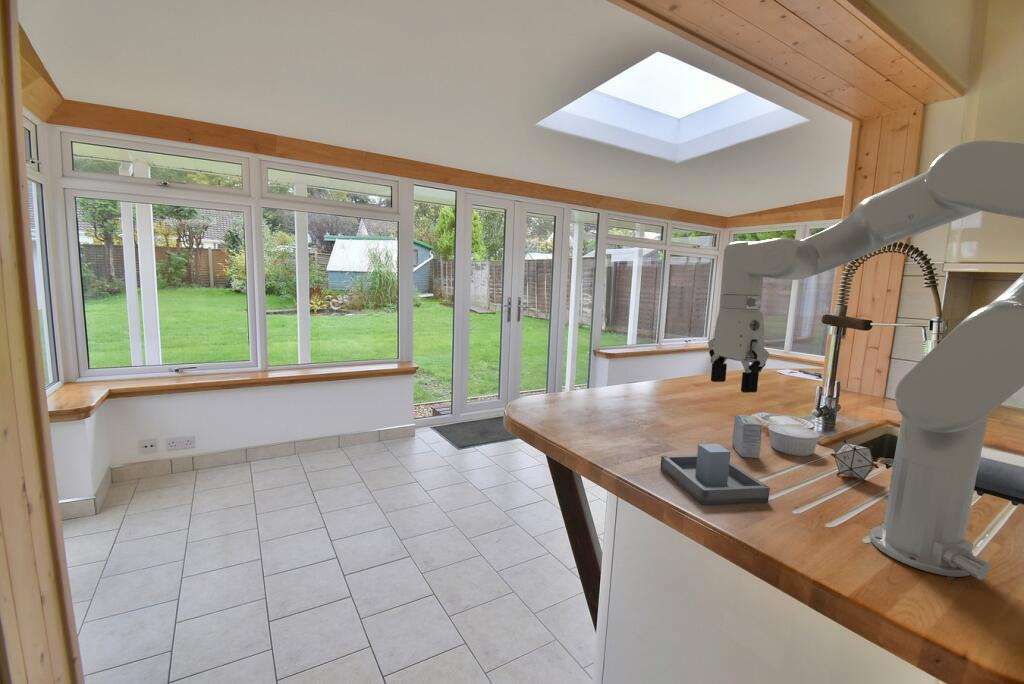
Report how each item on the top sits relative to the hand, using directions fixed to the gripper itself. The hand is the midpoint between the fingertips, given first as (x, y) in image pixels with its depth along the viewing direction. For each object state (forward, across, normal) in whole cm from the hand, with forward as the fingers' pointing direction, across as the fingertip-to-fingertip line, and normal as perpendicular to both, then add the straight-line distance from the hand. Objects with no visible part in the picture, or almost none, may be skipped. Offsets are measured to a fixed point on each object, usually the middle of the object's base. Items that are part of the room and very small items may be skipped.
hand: (732, 386), depth 94 cm
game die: (+22, 0, -32) cm, 38 cm away
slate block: (+20, 0, +3) cm, 20 cm away
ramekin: (+21, +16, -31) cm, 41 cm away
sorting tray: (+21, 0, +3) cm, 21 cm away
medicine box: (+21, +16, -17) cm, 32 cm away
